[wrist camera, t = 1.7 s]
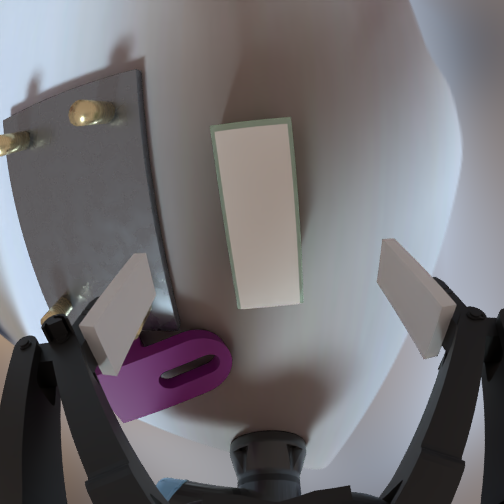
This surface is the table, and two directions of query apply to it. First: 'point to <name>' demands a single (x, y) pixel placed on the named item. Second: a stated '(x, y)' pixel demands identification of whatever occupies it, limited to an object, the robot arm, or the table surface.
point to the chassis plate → (88, 195)
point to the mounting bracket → (157, 362)
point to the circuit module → (260, 210)
